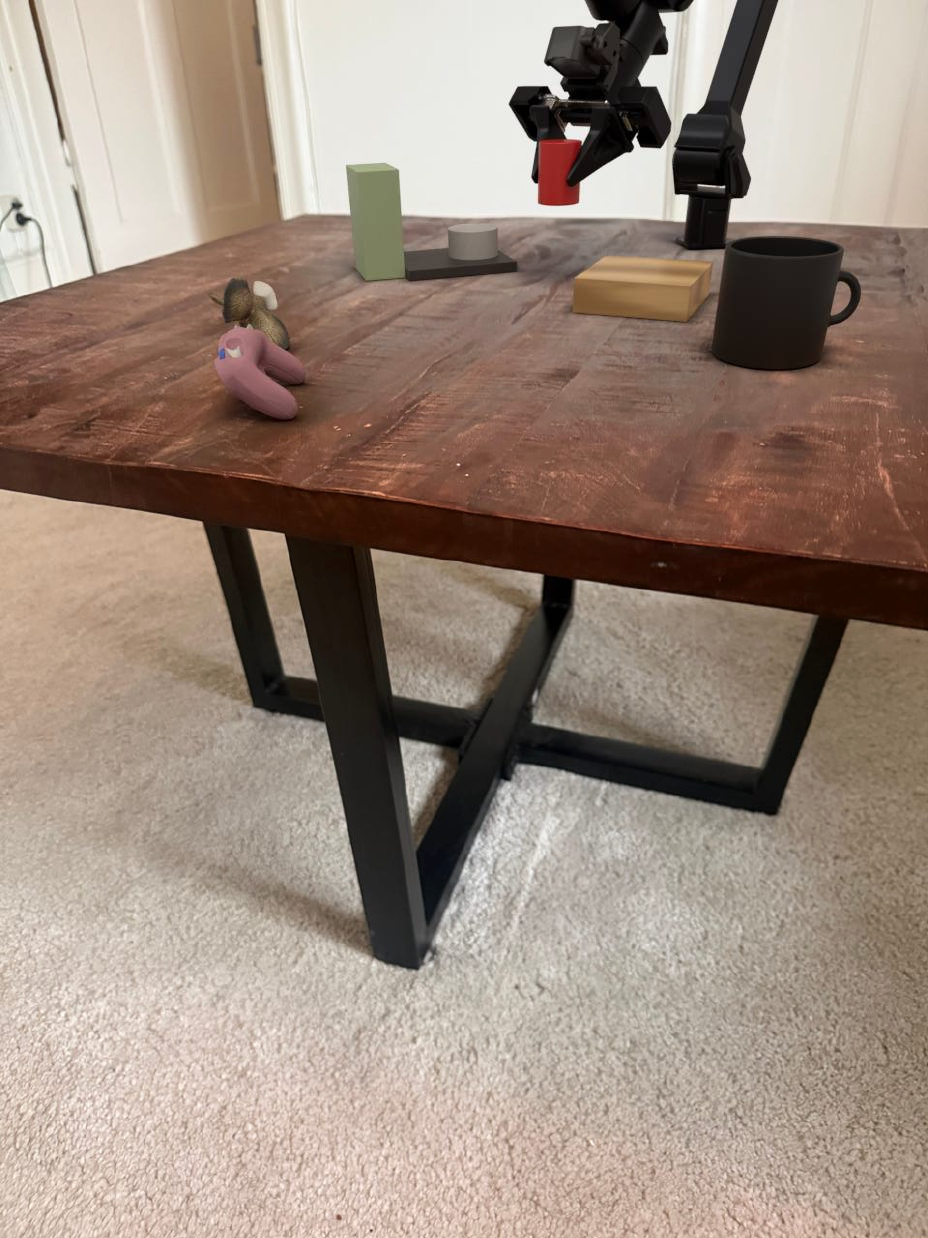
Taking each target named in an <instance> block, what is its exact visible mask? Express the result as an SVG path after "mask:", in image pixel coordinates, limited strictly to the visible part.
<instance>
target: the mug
mask: <svg viewBox="0 0 928 1238" xmlns="http://www.w3.org/2000/svg"><path fill="white" fill-rule="evenodd" d="M730 241H731V242H729V243H727V245H726V247H724V253H723V255H724V256H723V262H722V270H721V277H720V284H719V290H718V298H717V306H716V312H715V319H714V326H713V333H712V341H711V349H712V350H711V351H712V354H713V355H714V356H715V357H717V358H718V359H720V360H722V361H725V362H727V363H730V364H733V365H737V366H739V367H740V366H741V367H745V368H751V369H759V370H760V369H761V370H790V369H798V368H804V367H809V366H810V365H813V364H815V363H817V362H818V361H819V360H820V358H821V357H822V355H823V351H824V347H825V342H826V337H827V333H828V328H830V327H831V326H836V325H839V324H842V323H843V322H845V321H847V320H849V318H850V317H852V315H853V314H854V312H855V311H856V310H857V309H858V307H859V303H860V301H861V298H862V287H861V285H860V282H859V280H858V278H857V277H856V276H855V275H854V274H853V273H852V272H850V271H848V270H844V269H843V270H842V269H841V268H842V263H843V258H844V254H845V248H844V247H843V246H842V245H840V244H838V243H837V242H833V241H829V240H825V239H820V238H813V237H805V236H792V235H790V236H789V235H761V236H760V235H759V236H748V237H742V238H738V239H734V240H730ZM840 282H842V283H844V284H846V285H847V287H848V288H849V291H850V298H849V301H848V303H847V305H846V306H845V307H844V309H842V310H841V311H840V312H838V313H835V314H833V315H832V310H833V305H834V300H835V296H836V291H837V286H838V283H840Z"/></svg>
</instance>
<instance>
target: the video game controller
mask: <svg viewBox="0 0 928 1238" xmlns="http://www.w3.org/2000/svg"><path fill="white" fill-rule="evenodd" d="M217 351H218V353H217V355H218V356H217V357H216V358H215V359H214V368H215V371H216V374H217V375H218V378H219V380H220V381H221V383H222V384H223V386H224V387H225V388H226V390H227V391H228V393H230V394H231V395H232V396H233V397H234V398H235V399H237V400H239V401H242V402H244V403H245V404H247V406H249V408H250V409H252V410H253V411H258V412H260V413H262V414H264V415H266V416H269V417H272V418H275V419H278V420H291V419H294V418H295V416H296V415H297V414H298V411H299V405H298V402H297V401H298V400H297V399H296V397H294V396H293V395H292V393H291V392H290V391H289V390H288V389H287V388H285V387H284V386H282V385H281V384H279V383H278V382H280V383H285V384H290V385H299V384H301V383H302V382H304V380H305V379H306V375H307V373H306V368H305V367H304V364H302V362H301V361H300V360H299V358H297V357H296V356H295V355H293V354H292V353H290V352H289V351H287V350H286V349H285V348H284V349H282V348H281V347H279V346H277V345H276V344H275V343H273V342H272V341H271V340H269V339H268V338H267V337H266V336H265V335H264V334H263V333H262V332H260V331H259V330H254V329H253V327H252V325H250V324H249V325H248V326H247V328H244V327H237V328H234V327H233V328H232V329H230V330H229V331H226V332H225V333H223V334H222V335H221V336H220V338H219V340H218V344H217ZM272 379H273V380H272ZM274 380H275V381H274ZM276 381H278V382H276Z"/></svg>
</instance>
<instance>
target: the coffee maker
mask: <svg viewBox="0 0 928 1238" xmlns="http://www.w3.org/2000/svg"><path fill="white" fill-rule="evenodd" d="M345 171H346V184H347V191H348V202H349V203H348V204H349V214H350V215H349V216H350V225H351V226H350V227H351V237H352V247H353V256H354V257H353V258H354V267H355V269H356V271H357V272H358V273H359V274H360V276H361V277H363V280H365V281H366V282H372V281H383V280H384V281H385V280H395V279H406V280H408V282H412V281H424V280H425V281H426V280H435V279H446V278H448V279H449V278H456V277H468V276H480V275H491V274H503V273H511V272H512V273H514V272H518V261H517V260H516V259H513V258H512V257H510V256H509V255H507V254H505V253H504V252H502V251H500V250H499V227H498V226H497V225H495V224H491V223H483V222H482V223H481V222H472V223H471V222H470V223H459V224H454V225H453V224H452V225H451V226H448V228H447V240H448V241H447V243H448V245H447V247H446V248H445V247H444V248H431V249H420V250H418V249H417V250H406V251H405V248H404V246H405V245H404V231H403V215H402V200H401V199H402V198H401V197H402V196H401V181H400V169H399V168H397V167H395V166H393V165H390V164H389V163H387V162H373V163H358V164H357V163H356V164H345Z"/></svg>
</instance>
